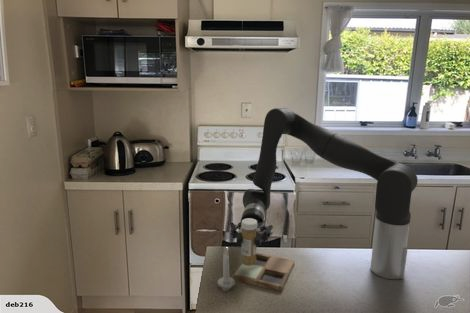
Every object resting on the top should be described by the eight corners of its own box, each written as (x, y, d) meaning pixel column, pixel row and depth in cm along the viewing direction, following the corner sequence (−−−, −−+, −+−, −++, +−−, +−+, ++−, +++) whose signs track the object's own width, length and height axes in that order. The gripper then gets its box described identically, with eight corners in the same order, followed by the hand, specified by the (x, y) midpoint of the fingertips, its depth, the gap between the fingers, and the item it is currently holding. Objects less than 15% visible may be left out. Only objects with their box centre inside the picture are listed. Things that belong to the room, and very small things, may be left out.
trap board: (294, 264, 108) (294, 259, 108) (282, 291, 95) (282, 286, 94) (250, 255, 114) (250, 250, 113) (232, 279, 100) (232, 274, 100)
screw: (215, 285, 97) (230, 281, 99) (221, 295, 93) (237, 290, 95) (214, 244, 94) (230, 240, 96) (221, 252, 90) (237, 248, 92)
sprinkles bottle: (259, 263, 101) (260, 221, 97) (246, 268, 98) (247, 225, 95) (250, 256, 104) (251, 216, 101) (237, 261, 102) (238, 219, 99)
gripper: (231, 206, 113) (223, 229, 97) (275, 208, 111) (273, 232, 95) (231, 227, 115) (223, 253, 99) (274, 229, 113) (272, 256, 97)
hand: (248, 243), depth 97 cm, fingers closed on sprinkles bottle, 4 cm apart
